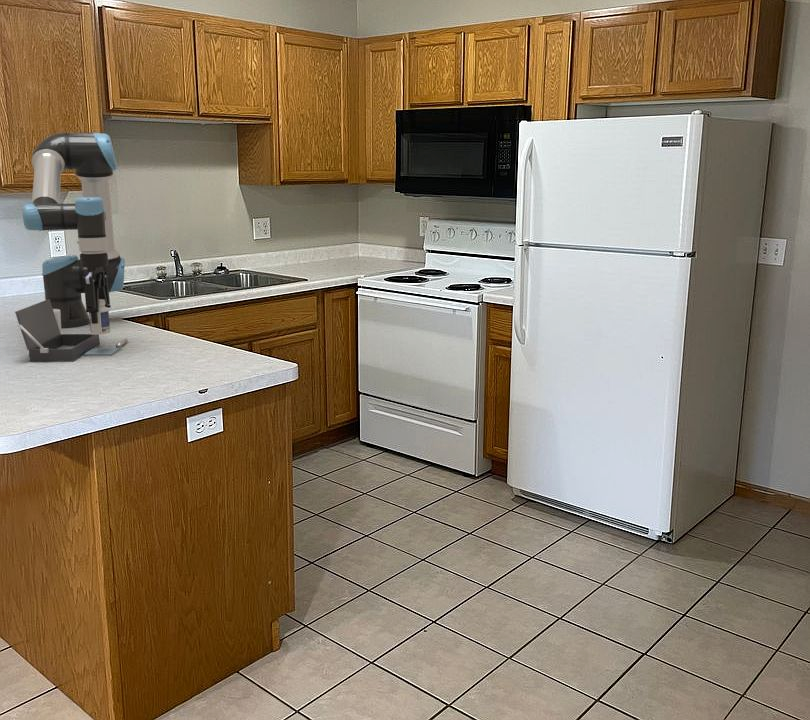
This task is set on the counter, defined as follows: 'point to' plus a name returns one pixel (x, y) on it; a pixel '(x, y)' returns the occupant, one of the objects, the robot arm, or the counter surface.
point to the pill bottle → (103, 317)
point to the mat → (102, 352)
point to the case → (51, 336)
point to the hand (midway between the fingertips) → (100, 332)
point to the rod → (122, 343)
